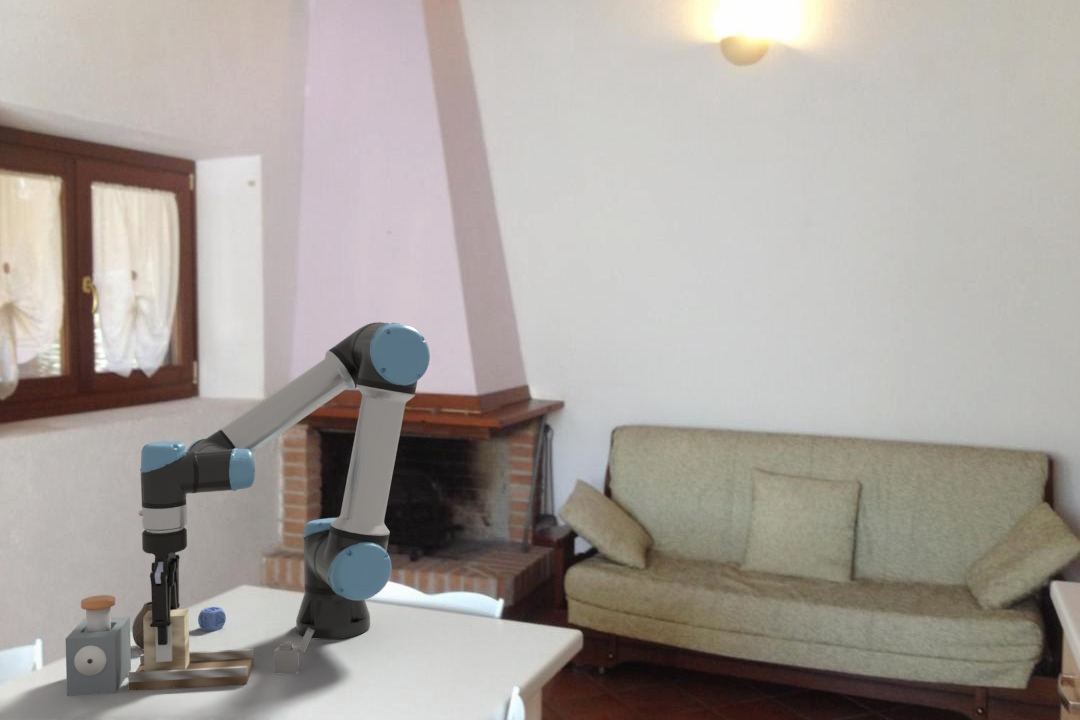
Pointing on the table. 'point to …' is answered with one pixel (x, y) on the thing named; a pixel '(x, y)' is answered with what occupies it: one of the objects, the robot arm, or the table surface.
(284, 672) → the lighter
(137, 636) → the vase
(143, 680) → the rail board
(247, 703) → the table surface
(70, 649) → the cabinet
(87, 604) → the plunger
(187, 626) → the beige wooden block
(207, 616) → the decorative dice
